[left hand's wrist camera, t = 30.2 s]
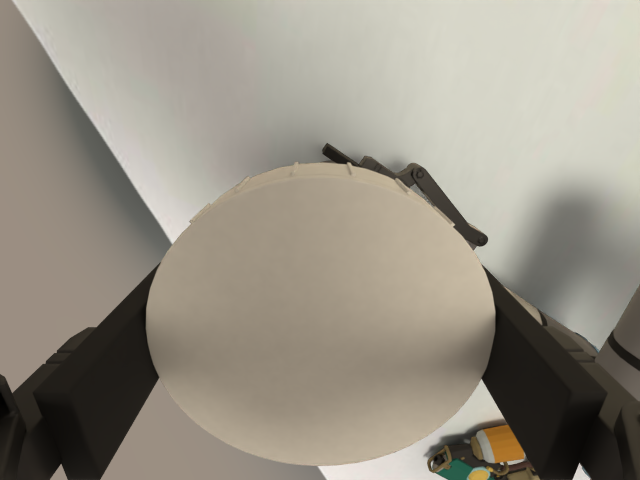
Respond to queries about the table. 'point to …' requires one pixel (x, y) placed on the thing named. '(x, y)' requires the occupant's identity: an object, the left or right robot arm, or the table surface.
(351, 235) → the lid
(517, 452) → the spray gun
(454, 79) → the table surface
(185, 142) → the table surface
